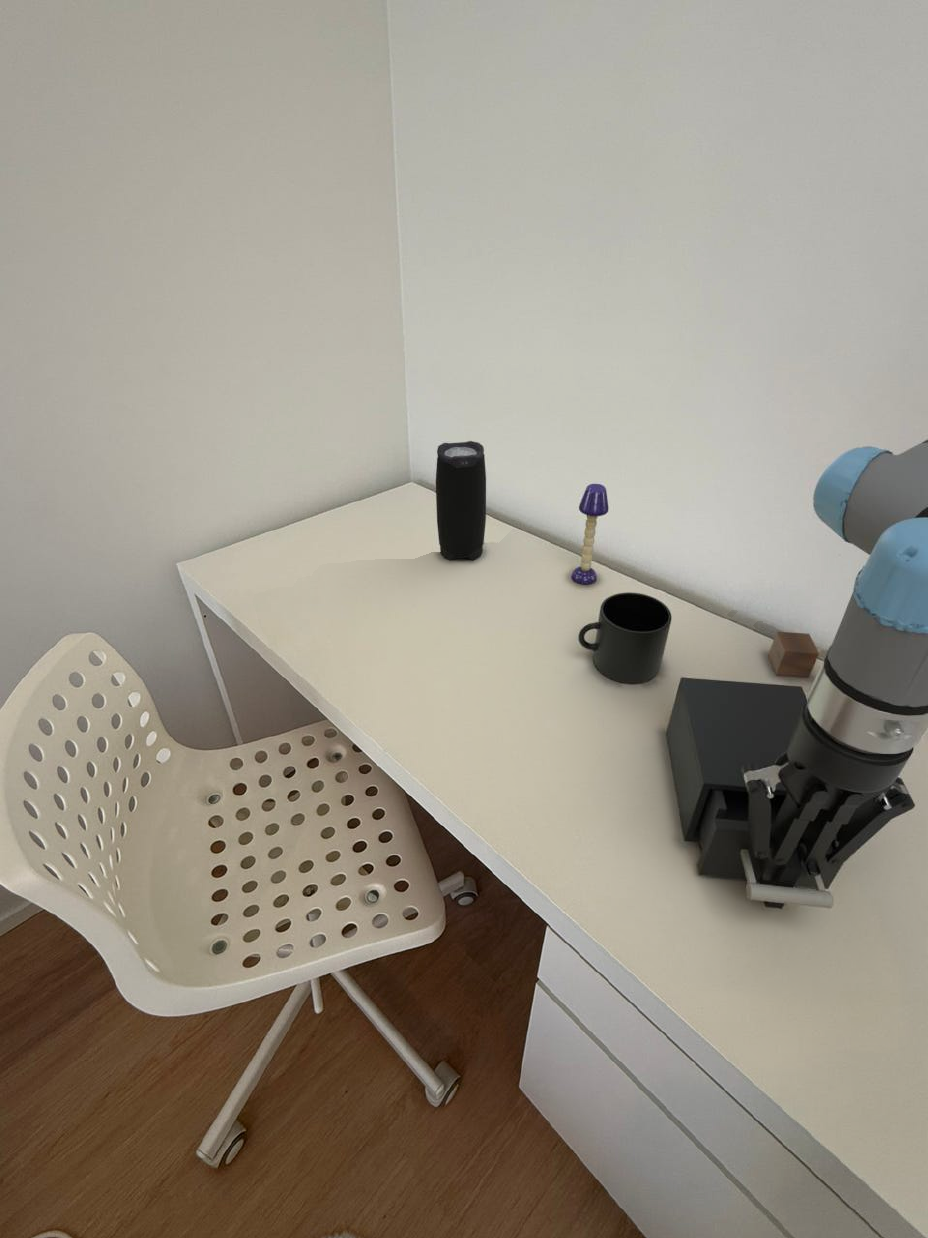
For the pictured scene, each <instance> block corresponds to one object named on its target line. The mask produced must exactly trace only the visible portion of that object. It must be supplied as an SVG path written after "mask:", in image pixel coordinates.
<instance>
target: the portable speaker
mask: <svg viewBox="0 0 928 1238" xmlns="http://www.w3.org/2000/svg"><path fill="white" fill-rule="evenodd" d="M436 454H437V458H436V468H435V501H436V502H435V505H436V524H437V525H436V526H437V535H438V545H439V552H440V555H441V556H442V557H443V558H444V559H446V560H448V561H451V560H452V559H454V558H455V559H456V558H457V559H468V560H469V561H475V560H477V559H479V558H480V557H481V556H482V554H483V549H484V547H483V546H484V544H485V532H486V523H487V470H486V457H485V448H484V445H482V443H480V442H478V441H473V440H468V441H462V442H460V441H459V442H443V443H441V444H439V445H438V446H437V449H436Z"/></svg>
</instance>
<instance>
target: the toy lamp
mask: <svg viewBox="0 0 928 1238" xmlns="http://www.w3.org/2000/svg"><path fill="white" fill-rule="evenodd" d="M578 510H579V512H580V513H581V514H582V515H585V516H586V520H585V528H584V532H583V533H584V537H583V540H582V541H583V545H582V550H581V551H582V553H581V563H580V566H577V567H576V568H575V569H573V571H572V574H571V580H572V581H573V582H575V583H577V584H580V585H592V584H594V583H595V582H597V578H598V576H597V573H596V571H595V569H593V568H592V560H593V552H594V543H595V535H596V528H597V525H598V523H597V520H598V517H601V516H605V515H606V514H608V513H609V500H608V491H607V488H606V486H605V485H603V484H600V483H590V484H588V485H587V486H586V488H585V490H584V492H583V495H582V497H581V500H580V502H579V505H578Z"/></svg>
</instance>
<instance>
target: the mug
mask: <svg viewBox="0 0 928 1238" xmlns="http://www.w3.org/2000/svg"><path fill="white" fill-rule="evenodd" d="M672 619H673V618H672V612H671V611H670V609H669V608H668V606H667V605H666V604H665V603H664V602H662V601H661V600H659V599H657V598H655V597H654V596H651V595H648V594H645V593H641V592H630V591H629V592H628V591H627V592H619V593H615V594H612V595H610V596H608V597H607V598H605V599H604V600H603V601H602V603H601V604H600V607H599V614H598V621H595V622H590V623H588V624H586V625H584V626H583V627H582V628H581V629H580V630H579V633H578V636H577V639H578V643H579V645H580V646H581V647H582V648H584V649H585V650H590V651H592V652H593V654H592V659H593V663H594V666H595V667H596V669H597V670H598V671H599V672H600V673H601V674H602V675H603V676H605V677H606V678H609V679H610V680H612V681H615V682H619V683H622V684H636V685H637V684H642V683H643V684H644V683H646V682H649V681H651V680H652V679H654V678H655V677H656V676H657V675H658V674H659V672H660V671H661V667H662V663H663V658H664V653H665V650H666V646H667V642H668V641H667V640H668V637H669V632H670V628H671V623H672ZM591 630H596V634H595V641H594V642H592V643H590V642H588V641H586V639H585V635H586V634H587V632H589V631H591Z"/></svg>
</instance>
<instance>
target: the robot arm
mask: <svg viewBox="0 0 928 1238" xmlns="http://www.w3.org/2000/svg"><path fill="white" fill-rule="evenodd" d="M812 499H813V500H812V501H813V502H812V503H813V505H812V506H813V511H814V512H815V514H816V516H817V518H818V519H819V520H820V521H821V522H822V523H823V524H825V526H827V527H828V528H829V529H831V531H833V532H834V533H835V534H836V535H837V536H839V537H840V538H841V539H842V540H843V542H846V543H848V544H850V545H851V544H852V545H854V546H855V547H856V548H858V549H859V550H861V551H863V552H864V553H865V554H867V555H869V556H868V559H867V560H866V562H865V564H864V565H863V566H862V568H861V569H860V570H859V571H858V573H857V575H856V576H855V580H854V584H853V588H852V590H853V591H852V592H851V596H850V598H849V601H848V603H847V606H846V608H845V611H844V613H843V616H842V618H841V621H840V624H839V626H838V628H837V631H836V633H835V636H834V638H833V640H832V643H831V645H830V646H829V648H828V650H827V652H826V654H825V657H824V659H823V661H822V663H821V664H820V667H819V669H818V671H817V674H816V676H815V678H814V680H813V683H812V685H811V687H810V689H809V692H808V694H807V696H806V698H807V701H806V703H805V704H804V706H803V708H802V710H801V713H800V715H799V717H798V720H797V722H796V724H795V726H794V729H793V731H792V734H791V738H790V742H789V746H788V749H787V750H786V751H785V752H784V753H782V754H781V755H779V756H778V757H777V759H776V761H775V765H774V766H770V767H767V768H763V769H760V770H758V768H757V767H756V766H755V765H754V764H746V765H744V766H743V767H742V772H743V776H744V780H745V784H746V787H747V791H748V794H749V817H748V833H749V837H750V841H751V845H752V849H753V852H754V856H755V857H756V858H758V859H760V861H759V867H760V871H761V877H760V879H759V882H758V884H764V885H774V886H783V887H792V888H795V886H794V885H795V883H799V884H802V883H803V882H804V881H805V880H806V879H807V877H808V875H809V876H818V875H820V874H821V870H820V868H819V864H820V863H821V862H828V864H829V865H830V866H834V867H835V866H840V865H842V864H843V865H844V864H845V863H846V861H847V860H849V858H850V857H852V856H853V855H854V854H856V852H858V850H859V849H861V848H862V847H863V846H864V845H865V844H866V843H867V842H868V841H870V840H871V839H872V838H873V837H874V836H875V835H876V834H877V833H879V831H881V830H882V829H883V828H884V827H885V826H886V825H887V824H888V823H890V822H891V821H892V820H893V819H895V818H897V817H899V816H901V815H903V814H906V813H907V812H909V811H911V810H912V809H914V808H915V806H916V803H915V802H914V799H913V798H912V796H911V794H910V792H909V790H908V788H907V786H906V784H905V782H904V781H903V779H902V778H901V777H899V776H900V775H901V772H902V771H903V769H904V767H905V766H906V764H907V762H908V761H909V759H910V758H911V756H912V754H913V753H914V749H915V746H917V745H918V744H919V742H920V741H921V739H922V738H923V736H924V734H925V733H926V731H927V729H928V438H927V439H926V440H924V441H922V442H921V443H918V444H916V445H914V446H912V447H910V448H908V449H906V450H905V451H903V452H901V453H899V454H893V452H892V451H890V450H889V449H885V448H884V449H882V448H879V447H876V446H869V445H867V446H861V447H857V446H856V447H854V448H852V449H848V450H847V451H845V452H843V453H842V454H840V455H839V456H837V457H836V458H835V459H834V460H833V461H832V462H831V463H829V465H828V466H827V467H826V468H825V470H824V471H823V472H822V473H821V475H820V477H819V479H818V481H817V483H816V485H815V488H814V490H813V497H812ZM779 782H782V784H783V785H784V787H785V789H786V790H787V796H786V798H785V800H784V802H783V804H782V806H781V808H780V810H779V813H778V815H777V817H776V819H775V821H774V823H773V825H772V827H771V830H770V823H771V803H770V800H769V798H773V797H774V794H773V792H774V791H775V790H776V784H777V783H779ZM837 842H839V845H838V847H837V844H836V843H837ZM797 845H798V846H797ZM796 846H797V848H796ZM843 865H842V866H843ZM763 905H764V907H765V908H770V909H779V910H781V909H783V907H784V906H785V903H777V902H768V901H763Z"/></svg>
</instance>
